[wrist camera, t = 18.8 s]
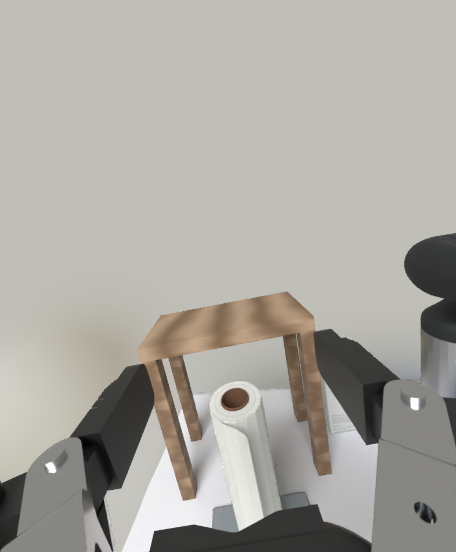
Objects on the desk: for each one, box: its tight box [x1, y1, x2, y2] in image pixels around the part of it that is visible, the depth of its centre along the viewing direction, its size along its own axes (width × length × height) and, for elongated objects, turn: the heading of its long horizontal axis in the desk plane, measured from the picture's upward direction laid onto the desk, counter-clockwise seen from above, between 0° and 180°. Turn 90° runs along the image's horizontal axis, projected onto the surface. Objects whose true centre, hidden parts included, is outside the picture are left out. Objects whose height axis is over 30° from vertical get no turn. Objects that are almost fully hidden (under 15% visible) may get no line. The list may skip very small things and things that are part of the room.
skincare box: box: [320, 337, 356, 433], centre depth 42 cm, size 8×7×16 cm
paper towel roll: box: [209, 381, 282, 531], centre depth 27 cm, size 7×6×21 cm
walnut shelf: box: [137, 292, 332, 500], centre depth 38 cm, size 24×12×27 cm, turn 92°
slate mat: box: [212, 492, 309, 532], centre depth 29 cm, size 14×8×1 cm, turn 92°
